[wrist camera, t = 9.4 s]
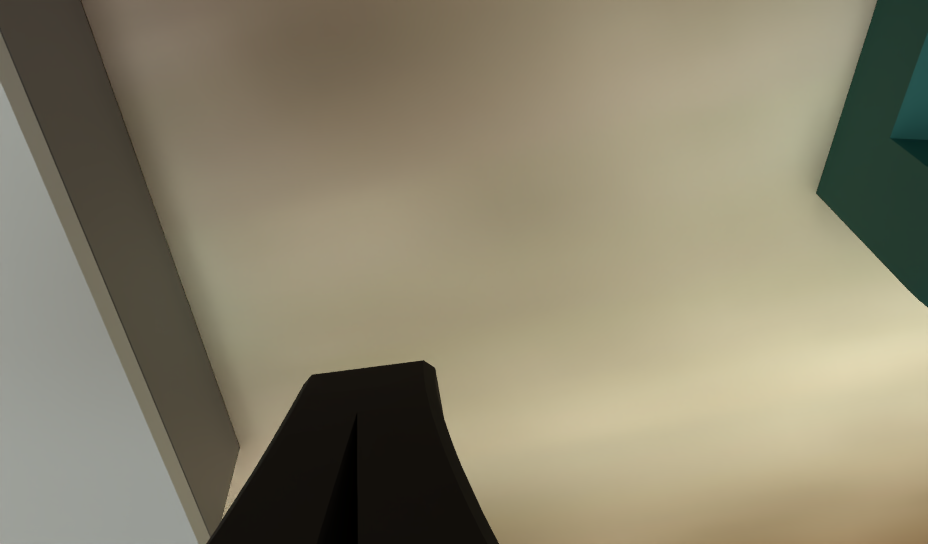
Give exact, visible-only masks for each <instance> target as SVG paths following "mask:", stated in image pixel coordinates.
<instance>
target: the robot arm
mask: <svg viewBox="0 0 928 544" xmlns="http://www.w3.org/2000/svg"><path fill="white" fill-rule="evenodd" d="M206 544H499V543H498V541H497V539H496V537H495V535H494V533H493V531H492V529H491V528H490V526H489V524H488V522H487V520H486V518H485V516H484V514H483V512H482V510H481V507H480V505H479V503H478V501H477V499H476V496H475V494H474V492H473V490H472V488H471V486H470V483H469V481H468V479H467V477H466V475H465V472H464V470H463V468H462V466H461V463H460V461H459V459H458V456H457V454H456V451H455V449H454V446H453V443H452V440H451V438H450V435H449V432H448V429H447V426H446V423H445V420H444V416H443V410H442V404H441V399H440V393H439V387H438V381H437V376H436V370H435V368H434V367H433V366H431V365H430V364H428V363H427V362H425V361H424V360H423V361H416V362H408V363H400V364H392V365H384V366H377V367H369V368H361V369H353V370H345V371H338V372H330V373H322V374H314V375H311V377H310V378H309V379H308V380H307V381H306V382H305V384H304V385H303V387H302V389H301V390H300V392H299V394H298V396H297V397H296V399H295V401H294V403H293V405H292V406H291V408H290V410H289V412H288V413H287V415H286V417H285V419H284V420H283V422H282V424H281V426H280V427H279V429H278V431H277V432H276V434H275V436H274V438H273V439H272V441H271V443H270V444H269V446H268V448H267V449H266V451H265V453H264V454H263V456H262V458H261V459H260V461H259V463H258V464H257V466H256V468H255V469H254V471H253V472H252V474H251V476H250V477H249V479H248V480H247V482H246V483H245V485H244V486H243V488H242V490H241V491H240V493H239V494H238V496H237V497H236V499H235V500H234V502H233V504H232V505H231V507H230V508H229V510H228V511H227V513H226V514H225V516H224V518H223V519H222V521H221V522H220V524H219V525H218V527H217V528H216V530H215V531H214V533H213V534H212V536H211V537H210V539H209V540H208V542H207V543H206Z"/></svg>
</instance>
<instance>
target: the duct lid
mask: <svg viewBox="0 0 928 544" xmlns="http://www.w3.org/2000/svg"><path fill="white" fill-rule="evenodd" d="M209 539H210V536H209V534H208V531H207V529H206V526H205V524H204V522H203V519H202V517H201V514H200V512H199V509H198V507H197V505H196V502H195V500H194V497H193V495H192V493H191V490H190V488H189V485H188V483H187V481H186V478H185V476H184V473H183V471H182V469H181V466H180V464H179V461H178V459H177V456H176V454H175V452H174V449H173V447H172V444H171V442H170V440H169V437H168V435H167V432H166V430H165V428H164V425H163V423H162V420H161V418H160V416H159V413H158V411H157V408H156V406H155V403H154V401H153V399H152V396H151V394H150V391H149V389H148V387H147V384H146V382H145V379H144V377H143V375H142V372H141V370H140V367H139V365H138V363H137V360H136V358H135V355H134V353H133V350H132V348H131V346H130V343H129V341H128V338H127V336H126V334H125V331H124V329H123V326H122V324H121V322H120V319H119V317H118V314H117V312H116V310H115V307H114V305H113V302H112V300H111V297H110V295H109V293H108V290H107V288H106V285H105V283H104V281H103V278H102V276H101V273H100V271H99V269H98V266H97V264H96V261H95V259H94V257H93V254H92V252H91V249H90V247H89V244H88V242H87V240H86V237H85V235H84V232H83V230H82V228H81V225H80V223H79V220H78V218H77V216H76V213H75V211H74V208H73V206H72V204H71V201H70V199H69V196H68V194H67V191H66V189H65V187H64V184H63V182H62V179H61V177H60V175H59V172H58V170H57V167H56V165H55V163H54V160H53V158H52V155H51V153H50V151H49V148H48V146H47V143H46V141H45V138H44V136H43V134H42V131H41V129H40V126H39V124H38V122H37V119H36V117H35V114H34V112H33V110H32V107H31V105H30V102H29V100H28V98H27V95H26V93H25V90H24V88H23V85H22V83H21V81H20V78H19V76H18V73H17V71H16V69H15V66H14V64H13V61H12V59H11V57H10V54H9V52H8V49H7V47H6V45H5V42H4V40H3V37H2V35H1V32H0V544H206V543H207V542H208V540H209Z"/></svg>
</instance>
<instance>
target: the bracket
mask: <svg viewBox="0 0 928 544" xmlns="http://www.w3.org/2000/svg"><path fill="white" fill-rule="evenodd" d="M816 194H817V195H818V196H819V197H820V198H821V199H822V200H823V201H824V202H825V203H826V204H827V205H828V206H829V207H830V208H831V209H832V210H833V211H834V212H835V214H836V215H837V216H838V217H839V218H840V219H841V220H842V221H843V222H844V223H845V224H846V225H847V226H848V227H849V228H850V229H851V230H852V231H853V232H854V233H855V235H856V236H857V237H858V238H859V239H860V240H861V241H862V242H863V243H864V244H865V245H866V246H867V247H868V248H869V249H870V250H871V251H872V252H873V253H874V254H875V256H876V257H877V258H878V259H879V260H880V261H881V262H882V263H883V264H884V265H885V266H886V267H887V268H888V269H889V270H890V271H891V272H892V273H893V274H894V275H895V277H896V278H897V279H898V280H899V281H900V282H901V283H902V284H903V285H904V286H905V287H906V288H907V289H908V290H909V291H910V292H911V293H912V294H913V295H914V296H915V297H916V298H917V299H918V300H919V301H921V302H922V303H923V304H924V305H925V306H927V307H928V0H878V1H877V4H876V7H875V10H874V13H873V16H872V19H871V23H870V26H869V29H868V32H867V35H866V38H865V41H864V45H863V48H862V51H861V54H860V57H859V60H858V63H857V66H856V70H855V73H854V76H853V79H852V82H851V85H850V88H849V92H848V95H847V98H846V101H845V104H844V107H843V110H842V114H841V117H840V120H839V123H838V126H837V129H836V132H835V135H834V139H833V142H832V145H831V148H830V151H829V154H828V157H827V161H826V164H825V167H824V170H823V173H822V176H821V179H820V183H819V186H818V189H817V192H816Z"/></svg>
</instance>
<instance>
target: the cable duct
mask: <svg viewBox="0 0 928 544" xmlns="http://www.w3.org/2000/svg"><path fill="white" fill-rule="evenodd" d="M0 32H1V35H2V37H3V40H4V42H5V45H6V47H7V49H8V52H9V54H10V57H11V59H12V61H13V64H14V66H15V69H16V71H17V73H18V76H19V78H20V81H21V83H22V85H23V88H24V90H25V93H26V95H27V98H28V100H29V102H30V105H31V107H32V110H33V112H34V114H35V117H36V119H37V122H38V124H39V126H40V129H41V131H42V134H43V136H44V138H45V141H46V143H47V146H48V148H49V151H50V153H51V155H52V158H53V160H54V163H55V165H56V167H57V170H58V172H59V175H60V177H61V179H62V182H63V184H64V187H65V189H66V191H67V194H68V196H69V199H70V201H71V204H72V206H73V208H74V211H75V213H76V216H77V218H78V220H79V223H80V225H81V228H82V230H83V232H84V235H85V237H86V240H87V242H88V244H89V247H90V249H91V252H92V254H93V257H94V259H95V261H96V264H97V266H98V269H99V271H100V273H101V276H102V278H103V281H104V283H105V285H106V288H107V290H108V293H109V295H110V297H111V300H112V302H113V305H114V307H115V310H116V312H117V314H118V317H119V319H120V322H121V324H122V326H123V329H124V331H125V334H126V336H127V338H128V341H129V343H130V346H131V348H132V350H133V353H134V355H135V358H136V360H137V363H138V365H139V367H140V370H141V372H142V375H143V377H144V379H145V382H146V384H147V387H148V389H149V391H150V394H151V396H152V399H153V401H154V403H155V406H156V408H157V411H158V413H159V416H160V418H161V420H162V423H163V425H164V428H165V430H166V432H167V435H168V437H169V440H170V442H171V444H172V447H173V449H174V452H175V454H176V456H177V459H178V461H179V464H180V466H181V469H182V471H183V473H184V476H185V478H186V481H187V483H188V485H189V488H190V490H191V493H192V495H193V497H194V500H195V502H196V505H197V507H198V509H199V512H200V514H201V517H202V519H203V522H204V524H205V526H206V529H207V531H208V534H209V536H210V537H211V536H212V534H213V533H214V531H215V530H216V528H217V527H218V525H219V524H220V522H221V520H222V516H223V512H224V508H225V504H226V500H227V496H228V492H229V488H230V484H231V480H232V476H233V472H234V468H235V464H236V460H237V456H238V452H239V448H240V447H239V444H238V441H237V438H236V436H235V433H234V430H233V427H232V424H231V422H230V419H229V416H228V413H227V410H226V408H225V405H224V402H223V399H222V396H221V394H220V391H219V388H218V385H217V382H216V380H215V377H214V374H213V371H212V368H211V366H210V363H209V360H208V357H207V354H206V352H205V349H204V346H203V343H202V340H201V338H200V335H199V332H198V329H197V326H196V324H195V321H194V318H193V315H192V312H191V309H190V307H189V304H188V301H187V298H186V295H185V293H184V290H183V287H182V284H181V281H180V279H179V276H178V273H177V270H176V267H175V265H174V262H173V259H172V256H171V253H170V251H169V248H168V245H167V242H166V239H165V237H164V234H163V231H162V228H161V225H160V223H159V220H158V217H157V214H156V211H155V209H154V206H153V203H152V200H151V197H150V195H149V192H148V189H147V186H146V183H145V181H144V178H143V175H142V172H141V169H140V167H139V164H138V161H137V158H136V155H135V153H134V150H133V147H132V144H131V141H130V138H129V136H128V133H127V130H126V127H125V124H124V122H123V119H122V116H121V113H120V110H119V108H118V105H117V102H116V99H115V96H114V94H113V91H112V88H111V85H110V82H109V80H108V77H107V74H106V71H105V68H104V66H103V63H102V60H101V57H100V54H99V52H98V49H97V46H96V43H95V40H94V38H93V35H92V32H91V29H90V26H89V24H88V21H87V18H86V15H85V12H84V10H83V7H82V4H81V1H80V0H0Z"/></svg>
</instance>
